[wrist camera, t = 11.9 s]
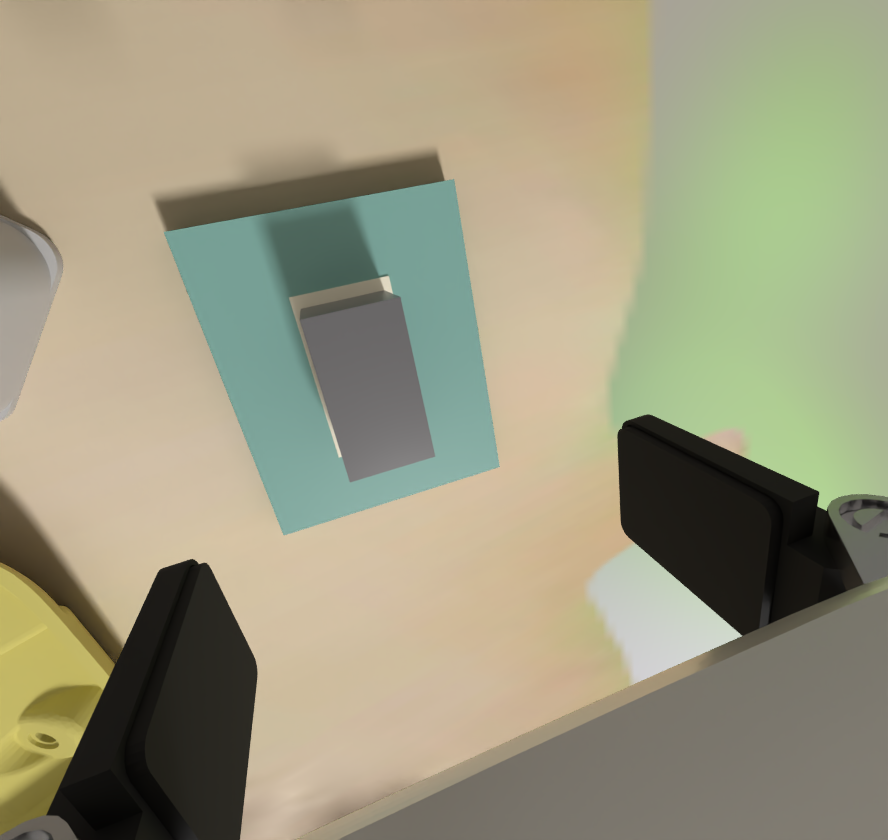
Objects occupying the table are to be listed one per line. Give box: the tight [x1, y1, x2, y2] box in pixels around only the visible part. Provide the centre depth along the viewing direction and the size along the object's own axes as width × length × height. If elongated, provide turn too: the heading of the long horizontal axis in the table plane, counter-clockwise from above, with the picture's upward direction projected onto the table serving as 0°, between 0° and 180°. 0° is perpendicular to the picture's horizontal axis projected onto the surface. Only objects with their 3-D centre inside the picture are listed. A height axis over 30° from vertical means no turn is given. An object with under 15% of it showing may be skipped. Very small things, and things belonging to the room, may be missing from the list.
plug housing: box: [300, 290, 435, 482], centre depth 23 cm, size 4×8×4 cm, turn 11°
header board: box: [164, 179, 500, 535], centre depth 25 cm, size 14×17×4 cm
